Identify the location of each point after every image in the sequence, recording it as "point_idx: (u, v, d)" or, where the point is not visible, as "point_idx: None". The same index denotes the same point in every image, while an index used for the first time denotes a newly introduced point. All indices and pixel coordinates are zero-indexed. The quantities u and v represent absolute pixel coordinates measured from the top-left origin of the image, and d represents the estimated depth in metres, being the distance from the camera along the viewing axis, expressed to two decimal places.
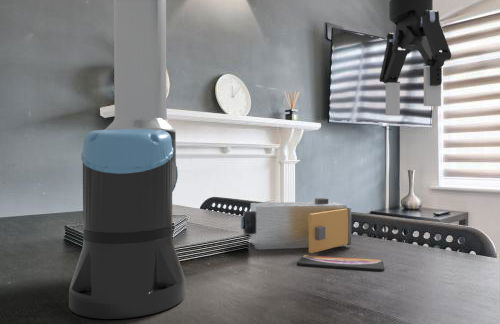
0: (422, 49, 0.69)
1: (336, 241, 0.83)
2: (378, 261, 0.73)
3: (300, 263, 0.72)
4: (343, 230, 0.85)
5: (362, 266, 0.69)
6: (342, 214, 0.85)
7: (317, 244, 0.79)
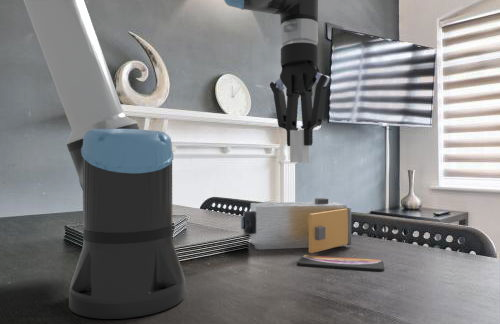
0: None
1: (336, 241, 0.83)
2: (378, 261, 0.73)
3: (300, 263, 0.72)
4: (343, 230, 0.85)
5: (362, 266, 0.69)
6: (342, 214, 0.85)
7: (317, 244, 0.79)
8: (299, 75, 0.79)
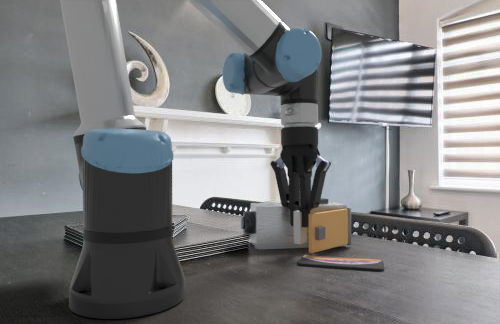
0: None
1: (336, 241, 0.83)
2: (378, 261, 0.73)
3: (300, 263, 0.72)
4: (343, 230, 0.85)
5: (362, 266, 0.69)
6: (342, 214, 0.85)
7: (317, 244, 0.79)
8: (299, 158, 0.79)
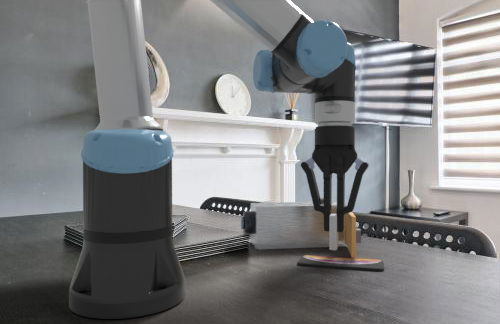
0: None
1: None
2: (378, 261, 0.73)
3: (300, 263, 0.72)
4: None
5: (362, 266, 0.69)
6: None
7: None
8: (339, 159, 0.75)
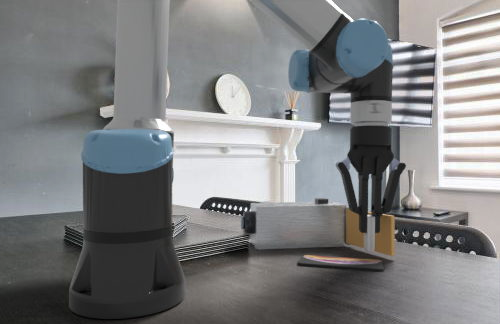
0: None
1: None
2: (378, 261, 0.73)
3: (300, 263, 0.72)
4: None
5: (362, 266, 0.69)
6: None
7: None
8: (379, 159, 0.74)
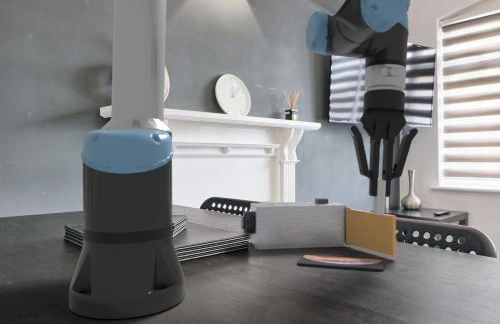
0: None
1: None
2: (378, 261, 0.73)
3: (300, 263, 0.72)
4: None
5: (362, 266, 0.69)
6: None
7: None
8: (392, 123, 0.75)
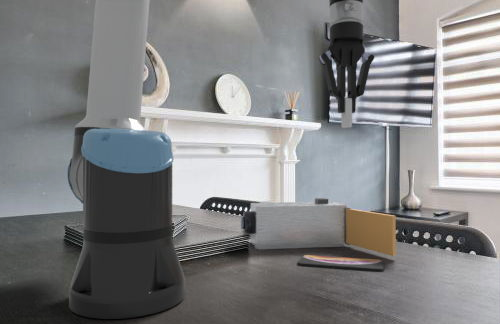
0: None
1: None
2: (378, 261, 0.73)
3: (300, 263, 0.72)
4: None
5: (362, 266, 0.69)
6: None
7: None
8: (354, 50, 0.91)
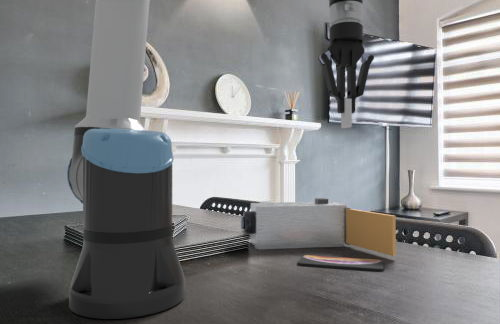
0: None
1: None
2: (378, 261, 0.73)
3: (300, 263, 0.72)
4: None
5: (362, 266, 0.69)
6: None
7: None
8: (354, 51, 0.91)
